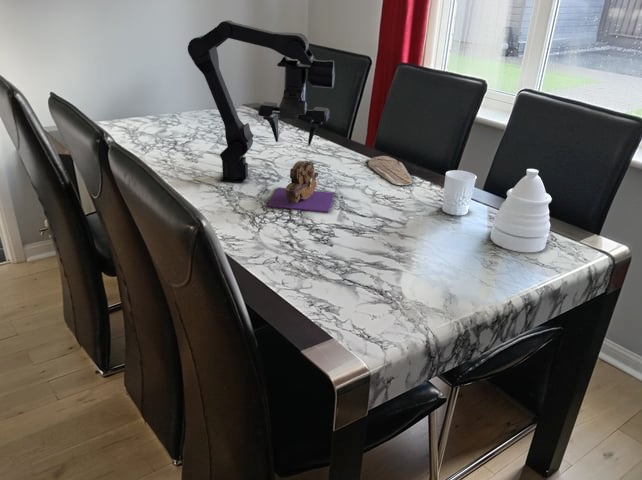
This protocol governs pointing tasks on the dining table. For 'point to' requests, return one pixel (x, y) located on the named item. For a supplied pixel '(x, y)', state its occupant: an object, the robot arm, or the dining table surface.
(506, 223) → the honey pot
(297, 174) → the wooden carving
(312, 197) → the cloth
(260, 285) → the dining table surface
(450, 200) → the white cup
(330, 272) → the dining table surface
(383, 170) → the fish fossil
